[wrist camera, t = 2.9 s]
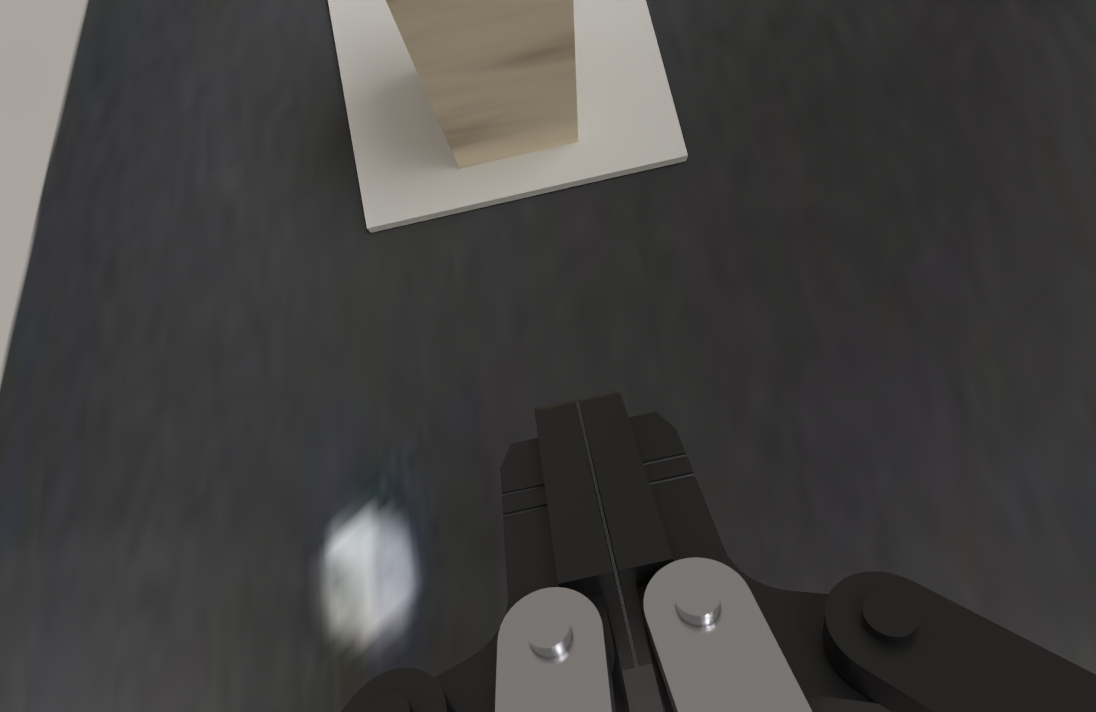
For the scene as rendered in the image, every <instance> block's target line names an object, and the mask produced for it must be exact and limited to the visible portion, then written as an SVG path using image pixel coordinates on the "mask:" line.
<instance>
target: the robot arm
mask: <svg viewBox="0 0 1096 712" xmlns="http://www.w3.org/2000/svg"><path fill="white" fill-rule="evenodd" d="M579 403H580V407H581V412H582V416H583V421H584V425H585V430H586V434H587V439H588V443H589V448H590V453H591V457H592V462H593V466H594V471H595V475H596V479H597V484H598V488H599V493H600V497H601V502H602V506H603V510H604V515H605V519H606V524H607V528H608V532H609V537H610V541H611V545H612V550H613V554H614V559H615V563H616V567H617V572H618V576H619V581H620V585H621V589H622V594H623V598H624V603H625V607H626V611H627V616H628V620H629V624H630V629H631V633H632V638H633V642H634V646H635V651H636V655H637V660H638V664H639V666H642V665H646V664H651V663H652V664H653V668H654V672H655V676H656V680H657V685H658V689H659V693H660V697H661V701H662V707H663V712H1096V675H1095V674H1093V673H1091V672H1089V671H1087V670H1085V669H1083V668H1081V667H1080V666H1078V665H1076V664H1074V663H1072V662H1070V661H1068V660H1066V659H1064V658H1062V657H1060V656H1058V655H1056V654H1054V653H1052V652H1050V651H1048V650H1046V649H1044V648H1042V647H1040V646H1038V645H1036V644H1035V643H1033V642H1031V641H1029V640H1027V639H1025V638H1023V637H1021V636H1019V635H1017V634H1015V633H1013V632H1011V631H1009V630H1007V629H1005V628H1003V627H1001V626H999V625H997V624H995V623H993V622H991V621H990V620H988V619H986V618H984V617H982V616H980V615H978V614H976V613H974V612H972V611H970V610H968V609H966V608H964V607H962V606H960V605H958V604H956V603H954V602H952V601H950V600H948V599H947V598H945V597H943V596H941V595H939V594H937V593H935V592H933V591H931V590H929V589H927V588H925V587H923V586H921V585H919V584H917V583H915V582H913V581H911V580H909V579H906V578H904V577H901V576H898V575H894V574H890V573H884V572H863V573H858V574H854V575H851V576H849V577H847V578H845V579H843V580H842V581H840V582H839V583H838V584H836V586H835V587H834V588H833V589H832V590H831V592H830V594H819V593H808V592H797V591H787V590H781V589H776V588H772V587H769V586H766V585H763V584H761V583H759V582H756V581H755V580H753V579H751V578H750V577H748V576H747V575H745V574H744V573H743V572H741V571H740V570H739V569H738V568H737V567H736V566H735V565H734V564H733V563H732V561H731V560H730V559H729V557H728V556H727V554H726V552H725V550H724V547H723V545H722V542H721V540H720V537H719V535H718V532H717V530H716V527H715V525H714V522H713V520H712V517H711V515H710V512H709V510H708V507H707V505H706V503H705V500H704V498H703V495H702V493H701V490H700V488H699V485H698V483H697V480H696V478H695V477H694V474H693V470H692V468H691V465H690V463H689V460H688V458H687V457H686V453H685V450H684V448H683V445H682V443H681V440H680V438H679V435H678V433H677V430H676V429H675V428H674V427H673V426H672V425H671V424H669V423H668V422H667V421H666V420H665V419H664V418H662V417H661V416H660V415H659V414H658V413H657V412H653V413H648V414H644V415H639V416H635V417H630V418H628V415H627V412H626V409H625V405H624V402H623V399H622V396H621V393H620V391H619V389H618V390H614V391H609V392H605V393H600V394H596V395H591V396H587V397H582V398H579ZM535 417H536V425H537V432H538V438H536V439H531V440H527V441H522V442H518V443H513V444H511V445H510V447H509V450H508V452H507V454H506V457H505V459H504V461H503V463H502V466H501V468H500V469H501V485H502V495H503V498H502V501H503V514H504V534H505V550H506V567H507V583H508V606H507V612H506V615H505V618H504V620H503V622H502V624H501V626H500V628H499V630H498V632H497V633H496V635H495V636H494V637H493V639H492V640H491V641H490V642H489V643H488V644H487V645H486V646H485V647H484V648H483V649H482V650H480V651H479V652H478V653H477V654H475V655H474V656H472V657H471V658H469V659H467V660H466V661H464V662H462V663H460V664H458V665H457V666H455V667H453V668H451V669H450V670H448V671H446V672H444V673H443V674H441V675H439V676H437V677H435V678H433V677H432V676H431V675H429V674H428V673H426V672H424V671H422V670H419V669H414V668H399V669H394V670H391V671H387V672H385V673H383V674H381V675H379V676H377V677H375V678H374V679H372V680H371V681H369V682H368V683H367V684H365V685H364V686H363V687H362V688H361V689H360V690H359V691H358V692H357V693H356V694H355V695H354V697H353V698H352V699H351V700H350V701H349V703H348V704H347V705H346V707H345V708H344V709H343V710H342V712H629V705H628V700H627V695H626V690H625V685H624V680H623V676H622V671H621V670H624V669H629V668H634V662H633V658H632V653H631V649H630V644H629V640H628V635H627V631H626V626H625V622H624V617H623V613H622V608H621V604H620V599H619V595H618V590H617V586H616V581H615V577H614V572H613V568H612V563H611V559H610V554H609V550H608V545H607V540H606V536H605V531H604V527H603V522H602V518H601V513H600V509H599V504H598V500H597V495H596V491H595V486H594V482H593V477H592V473H591V468H590V464H589V460H588V455H587V451H586V446H585V442H584V437H583V433H582V428H581V424H580V420H579V415H578V411H577V406H576V402H575V399H574V400H570V401H565V402H561V403H556V404H552V405H547V406H543V407H538V408H535Z"/></svg>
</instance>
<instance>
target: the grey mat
mask: <svg viewBox="0 0 1096 712" xmlns="http://www.w3.org/2000/svg"><path fill="white" fill-rule="evenodd" d="M328 4H329V10H330V16H331V22H332V28H333V33H334V39H335V45H336V51H337V57H338V63H339V68H340V74H341V80H342V86H343V92H344V98H345V103H346V109H347V115H348V121H349V127H350V133H351V138H352V144H353V150H354V156H355V162H356V168H357V173H358V179H359V185H360V191H361V197H362V203H363V208H364V214H365V220H366V226H367V229H368V230H369V231H370V232H371V233H373V232H377V231H381V230H386V229H390V228H395V227H399V226H403V225H408V224H412V223H416V222H421V221H425V220H430V219H434V218H438V217H443V216H447V215H452V214H456V213H460V212H465V211H469V210H474V209H478V208H482V207H487V206H491V205H495V204H500V203H504V202H509V201H513V200H517V199H522V198H526V197H531V196H535V195H539V194H544V193H548V192H553V191H557V190H561V189H566V188H570V187H574V186H579V185H583V184H588V183H592V182H596V181H601V180H605V179H610V178H614V177H618V176H623V175H627V174H632V173H636V172H640V171H645V170H649V169H654V168H658V167H662V166H667V165H671V164H675V163H680V162H684V161H686V160H687V156H688V154H687V150H686V147H685V143H684V139H683V136H682V132H681V128H680V125H679V121H678V117H677V114H676V110H675V106H674V102H673V99H672V95H671V91H670V88H669V84H668V80H667V77H666V73H665V69H664V66H663V62H662V58H661V55H660V51H659V47H658V43H657V40H656V36H655V32H654V29H653V25H652V21H651V18H650V14H649V10H648V7H647V3H646V0H573V4H574V32H575V61H576V89H577V117H578V142H574V143H570V144H566V145H561V146H557V147H553V148H548V149H544V150H540V151H535V152H531V153H527V154H522V155H518V156H513V157H509V158H505V159H500V160H496V161H492V162H487V163H483V164H479V165H474V166H470V167H466V168H461V169H459V167H458V165H457V162H456V160H455V158H454V155H453V153H452V151H451V149H450V146H449V144H448V142H447V139H446V137H445V135H444V133H443V130H442V128H441V126H440V123H439V121H438V119H437V117H436V114H435V112H434V110H433V107H432V105H431V103H430V101H429V98H428V96H427V94H426V91H425V89H424V87H423V85H422V82H421V80H420V78H419V75H418V73H417V71H416V68H415V66H414V64H413V62H412V59H411V57H410V55H409V52H408V50H407V48H406V46H405V43H404V41H403V39H402V36H401V34H400V32H399V30H398V27H397V25H396V23H395V20H394V18H393V16H392V14H391V11H390V9H389V7H388V4H387V2H386V0H328Z"/></svg>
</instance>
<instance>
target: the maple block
mask: <svg viewBox="0 0 1096 712" xmlns="http://www.w3.org/2000/svg"><path fill="white" fill-rule="evenodd" d="M386 2H387V4H388V7H389V9H390V11H391V14H392V16H393V18H394V20H395V23H396V25H397V27H398V30H399V32H400V34H401V36H402V39H403V41H404V43H405V46H406V48H407V50H408V52H409V55H410V57H411V59H412V62H413V64H414V66H415V68H416V71H417V73H418V75H419V78H420V80H421V82H422V85H423V87H424V89H425V91H426V94H427V96H428V98H429V101H430V103H431V105H432V107H433V110H434V112H435V114H436V117H437V119H438V121H439V123H440V126H441V128H442V130H443V133H444V135H445V137H446V139H447V142H448V144H449V146H450V149H451V151H452V153H453V155H454V158H455V160H456V162H457V165H458V167H459V169H461V168H466V167H470V166H474V165H479V164H483V163H487V162H492V161H496V160H500V159H505V158H509V157H513V156H518V155H522V154H527V153H531V152H535V151H540V150H544V149H548V148H553V147H557V146H561V145H566V144H570V143H574V142H578V117H577V89H576V61H575V32H574V4H573V0H386Z"/></svg>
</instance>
